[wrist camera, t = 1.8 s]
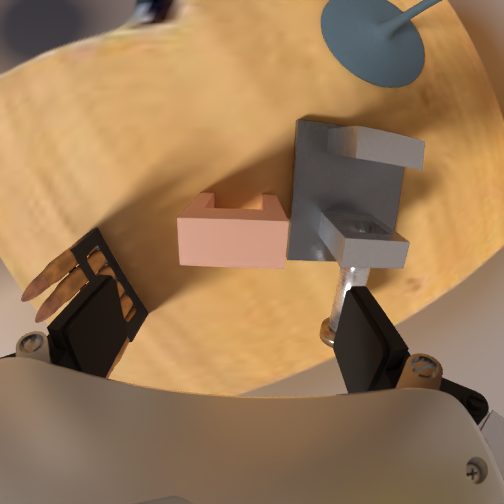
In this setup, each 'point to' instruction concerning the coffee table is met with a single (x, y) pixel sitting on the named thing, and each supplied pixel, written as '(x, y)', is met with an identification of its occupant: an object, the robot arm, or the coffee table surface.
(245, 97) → the coffee table surface
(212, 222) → the block
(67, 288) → the ammunition clip
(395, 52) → the cocktail glass
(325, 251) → the bracket
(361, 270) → the shaft
